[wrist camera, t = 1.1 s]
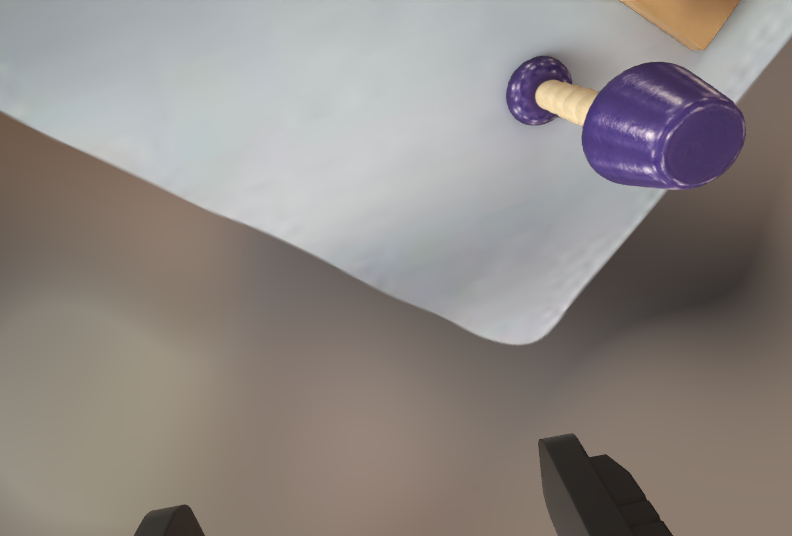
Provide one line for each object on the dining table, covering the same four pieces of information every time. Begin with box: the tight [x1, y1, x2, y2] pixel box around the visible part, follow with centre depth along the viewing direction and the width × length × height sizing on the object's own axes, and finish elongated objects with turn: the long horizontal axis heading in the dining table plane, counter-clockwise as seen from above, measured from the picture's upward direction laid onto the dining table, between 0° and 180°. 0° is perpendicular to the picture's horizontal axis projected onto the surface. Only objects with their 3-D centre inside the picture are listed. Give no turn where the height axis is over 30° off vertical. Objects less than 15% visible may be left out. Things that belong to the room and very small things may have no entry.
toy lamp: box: [506, 56, 746, 190], centre depth 21 cm, size 5×5×17 cm
